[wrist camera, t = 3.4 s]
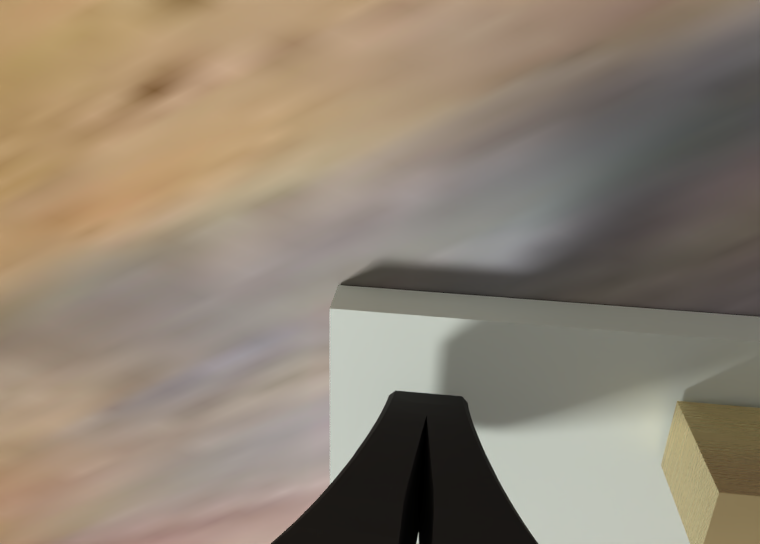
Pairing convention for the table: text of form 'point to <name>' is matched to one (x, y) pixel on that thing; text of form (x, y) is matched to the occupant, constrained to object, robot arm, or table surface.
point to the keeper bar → (715, 471)
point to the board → (546, 395)
